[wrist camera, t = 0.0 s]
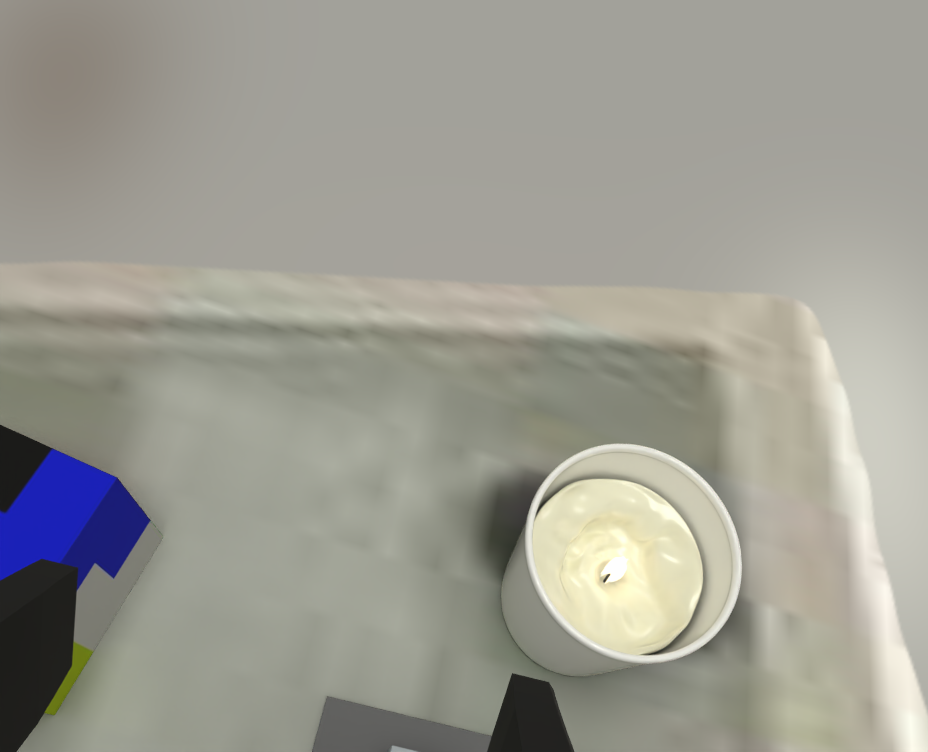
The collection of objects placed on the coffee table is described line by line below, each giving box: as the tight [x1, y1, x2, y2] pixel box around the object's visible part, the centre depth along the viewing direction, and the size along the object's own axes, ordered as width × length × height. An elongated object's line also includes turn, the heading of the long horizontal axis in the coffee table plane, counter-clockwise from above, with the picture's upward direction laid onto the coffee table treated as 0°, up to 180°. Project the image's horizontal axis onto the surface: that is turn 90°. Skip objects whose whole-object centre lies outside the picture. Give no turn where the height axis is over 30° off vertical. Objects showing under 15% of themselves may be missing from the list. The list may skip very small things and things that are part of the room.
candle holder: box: [501, 444, 742, 677], centre depth 41 cm, size 10×10×12 cm
